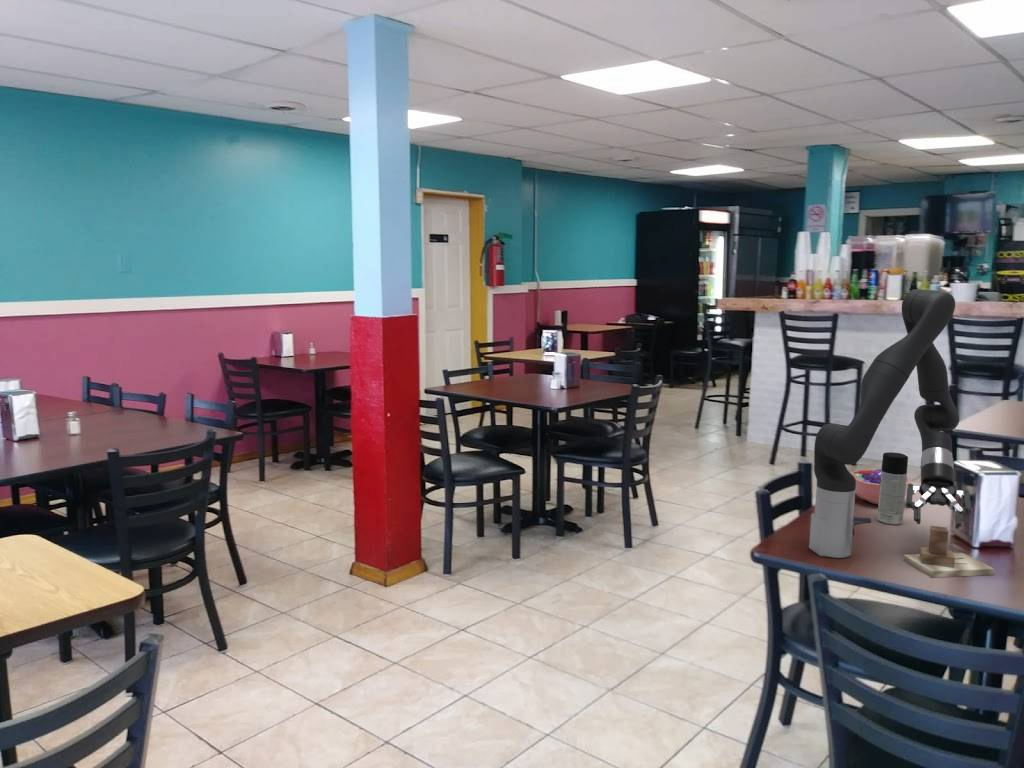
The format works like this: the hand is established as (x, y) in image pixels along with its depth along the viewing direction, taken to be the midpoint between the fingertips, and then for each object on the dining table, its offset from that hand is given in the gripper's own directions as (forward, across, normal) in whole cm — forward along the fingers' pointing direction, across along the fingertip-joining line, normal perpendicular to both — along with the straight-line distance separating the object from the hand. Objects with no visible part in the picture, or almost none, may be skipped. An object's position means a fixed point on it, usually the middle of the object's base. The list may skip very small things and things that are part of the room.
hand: (938, 524), depth 194 cm
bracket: (-8, -20, +23) cm, 31 cm away
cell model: (-30, -11, +44) cm, 54 cm away
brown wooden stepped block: (+8, 0, +3) cm, 9 cm away
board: (+8, +2, +5) cm, 10 cm away
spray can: (-15, -9, +30) cm, 34 cm away
